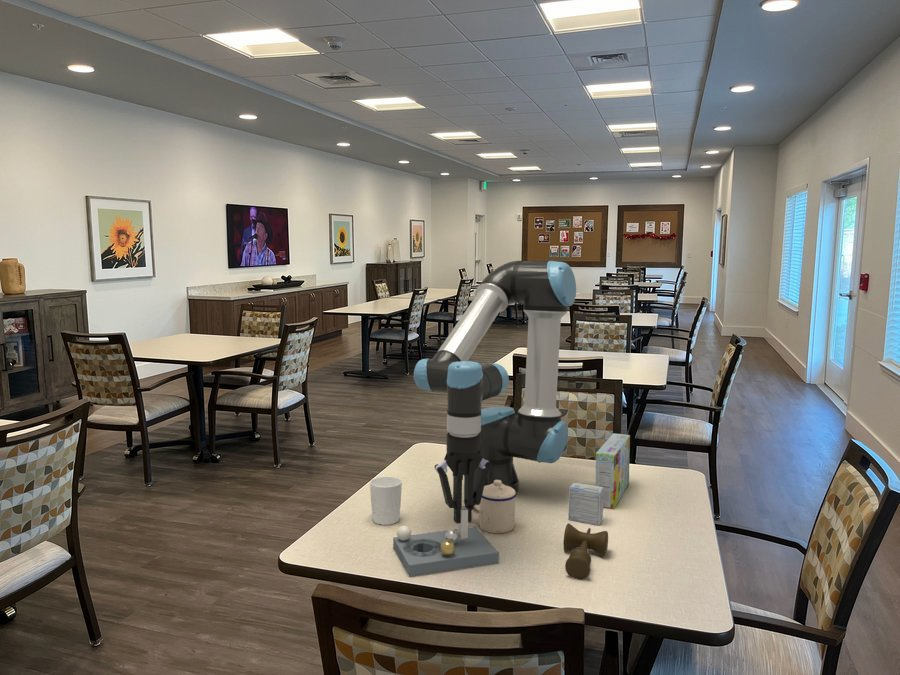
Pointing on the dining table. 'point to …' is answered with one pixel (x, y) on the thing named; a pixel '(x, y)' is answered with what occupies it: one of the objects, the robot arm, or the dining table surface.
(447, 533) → the steel ball
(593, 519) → the medicine box
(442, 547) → the brass ball
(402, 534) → the white ball
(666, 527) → the dining table surface
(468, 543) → the gray ball tray
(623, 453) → the snack box
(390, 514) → the white cup
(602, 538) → the kendama
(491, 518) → the teacup with lid
